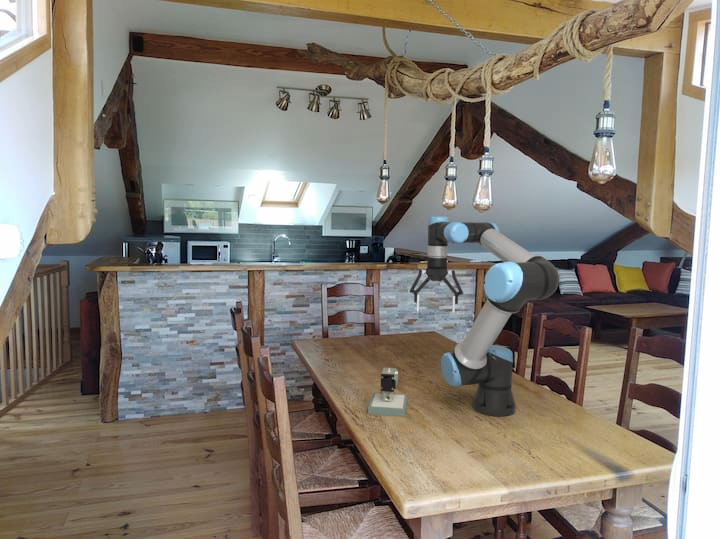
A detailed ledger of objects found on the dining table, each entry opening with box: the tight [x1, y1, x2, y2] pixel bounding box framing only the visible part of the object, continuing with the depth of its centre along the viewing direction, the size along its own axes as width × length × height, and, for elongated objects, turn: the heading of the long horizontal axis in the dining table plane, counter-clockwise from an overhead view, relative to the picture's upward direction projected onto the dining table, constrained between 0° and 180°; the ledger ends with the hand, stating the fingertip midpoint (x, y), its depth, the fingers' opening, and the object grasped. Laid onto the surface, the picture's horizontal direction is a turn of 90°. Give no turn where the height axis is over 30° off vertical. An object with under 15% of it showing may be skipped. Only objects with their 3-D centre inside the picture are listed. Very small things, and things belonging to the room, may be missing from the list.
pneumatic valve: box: [380, 366, 399, 402], centre depth 187 cm, size 6×12×12 cm, turn 170°
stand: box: [367, 392, 409, 418], centre depth 187 cm, size 13×15×3 cm
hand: (435, 311), depth 200 cm, fingers open, 13 cm apart
